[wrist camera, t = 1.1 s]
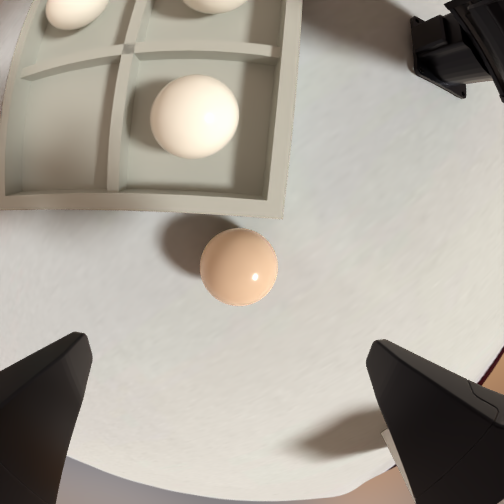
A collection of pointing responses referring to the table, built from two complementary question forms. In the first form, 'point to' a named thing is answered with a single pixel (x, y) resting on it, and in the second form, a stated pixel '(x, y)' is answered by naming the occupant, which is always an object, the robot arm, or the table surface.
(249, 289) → the brown egg
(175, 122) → the egg
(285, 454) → the table surface
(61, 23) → the egg
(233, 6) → the egg
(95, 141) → the carton
